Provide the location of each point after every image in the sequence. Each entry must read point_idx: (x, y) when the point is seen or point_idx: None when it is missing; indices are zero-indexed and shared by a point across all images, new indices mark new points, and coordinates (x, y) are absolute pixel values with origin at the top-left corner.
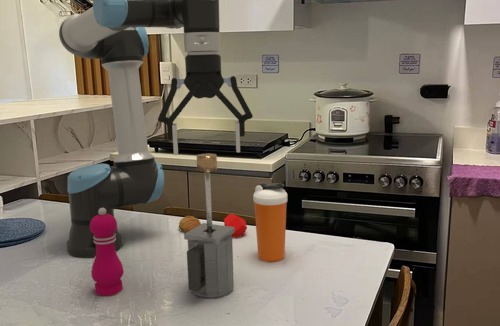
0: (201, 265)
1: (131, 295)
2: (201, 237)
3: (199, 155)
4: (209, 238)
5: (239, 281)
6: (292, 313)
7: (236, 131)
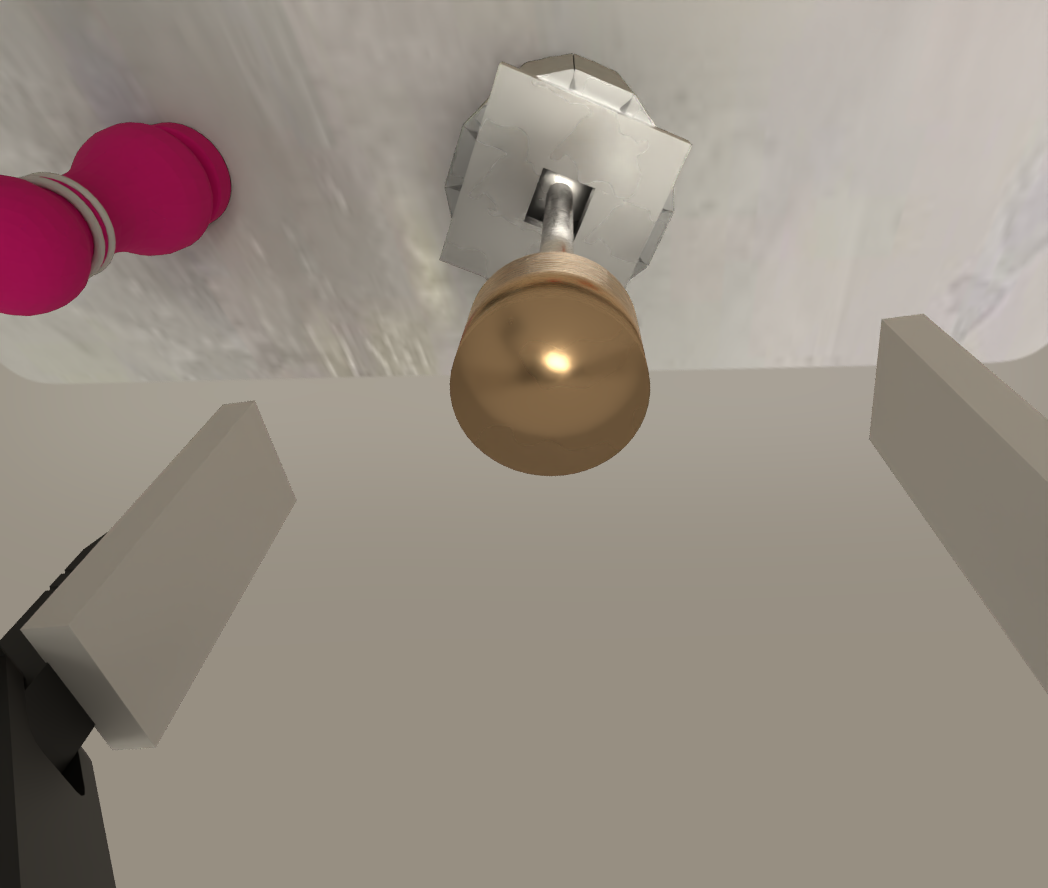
0: None
1: (285, 216)
2: None
3: (477, 391)
4: None
5: (667, 70)
6: (834, 322)
7: (984, 595)
